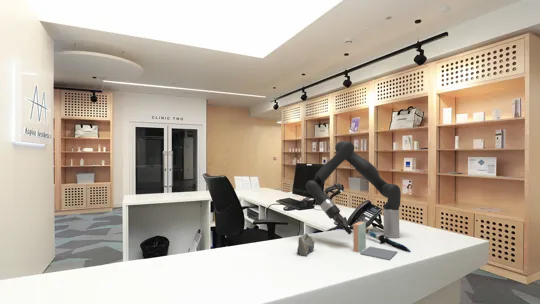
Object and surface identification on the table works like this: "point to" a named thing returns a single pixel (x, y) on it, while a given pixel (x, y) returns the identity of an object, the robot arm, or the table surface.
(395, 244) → the knife
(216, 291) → the table surface
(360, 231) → the tile
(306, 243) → the mineral rock
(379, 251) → the slate mat
